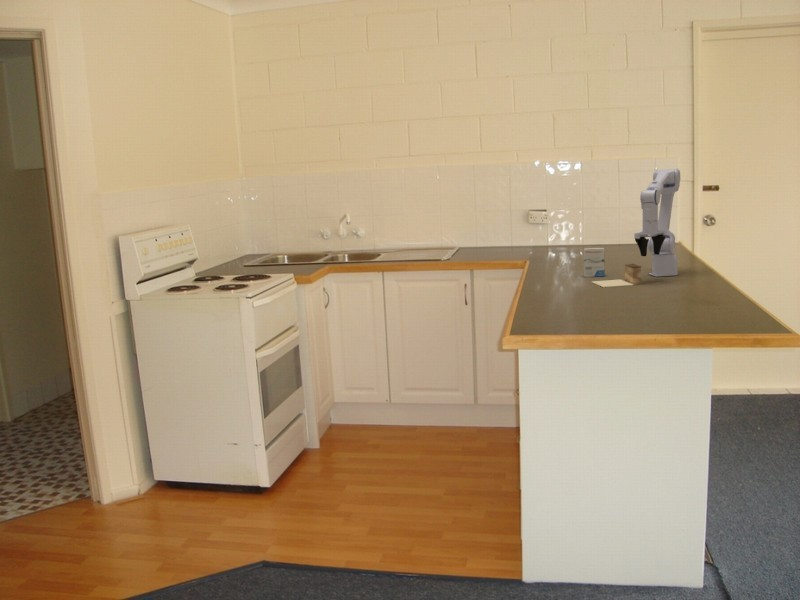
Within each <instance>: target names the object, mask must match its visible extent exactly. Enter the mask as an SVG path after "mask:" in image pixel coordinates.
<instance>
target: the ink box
mask: <svg viewBox="0 0 800 600" xmlns="http://www.w3.org/2000/svg"><path fill="white" fill-rule="evenodd" d="M605 264H606V263H605V247H589V248H588V247H587V248H583V277H584V278H592V277H595V278H596V277H598V278H599V277H601V278H603V277H605V276H606V275H605V270H606V269H605V266H606V265H605Z"/></svg>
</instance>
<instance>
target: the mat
mask: <svg viewBox="0 0 800 600" xmlns="http://www.w3.org/2000/svg"><path fill="white" fill-rule="evenodd" d="M590 283H592V284H594V285H596V286H598V287H600V286H601V288H605V287H606V288H616V287H617V288H618V287H633V286H634V284H631V283H628V282H626V281H625V280H624V279H621V278H620V279H611V280H609V279H608V280H593V281H591V282H590ZM606 288H605V289H606Z"/></svg>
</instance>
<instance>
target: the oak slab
mask: <svg viewBox="0 0 800 600" xmlns="http://www.w3.org/2000/svg"><path fill="white" fill-rule="evenodd" d="M624 281H626V282H628V283H631V284H633V285H641V284H642V266H641V265H639V264H635V263H625V264H624Z"/></svg>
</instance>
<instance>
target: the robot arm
mask: <svg viewBox="0 0 800 600" xmlns="http://www.w3.org/2000/svg"><path fill="white" fill-rule="evenodd" d="M680 185H681V171H680V169H679V168H671V169H670V168H669V169H667V168H666V169H654V171H653V174H652V181H651V182H650V183H649V185H648V186H647V188H646V189H644V190H643V191H641V192H640V204H641V205H640V207H641V210H642V231H640V232H635V233H634V234H633V235H634V241H635V243H636V244H637V247H638V250H639V252H640V256H641V257H647V254H648V253H647V252H649V253H650V255H651V256H652V257H651V266H652V267H651V269H652V271H651V272H649V273H648V275H649V276H653V277H656V278H657V277H669V276H671V277H672V276H679V274H678V256H677V254H676V253H674V252H675V249H676V236H675V234H674V233H673V232H672V231H670V225H671V219H672V218H671V217H672V210H673V202H674V197H675V196H674V195H675V193H677V192H678V191H679V188H680Z"/></svg>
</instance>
